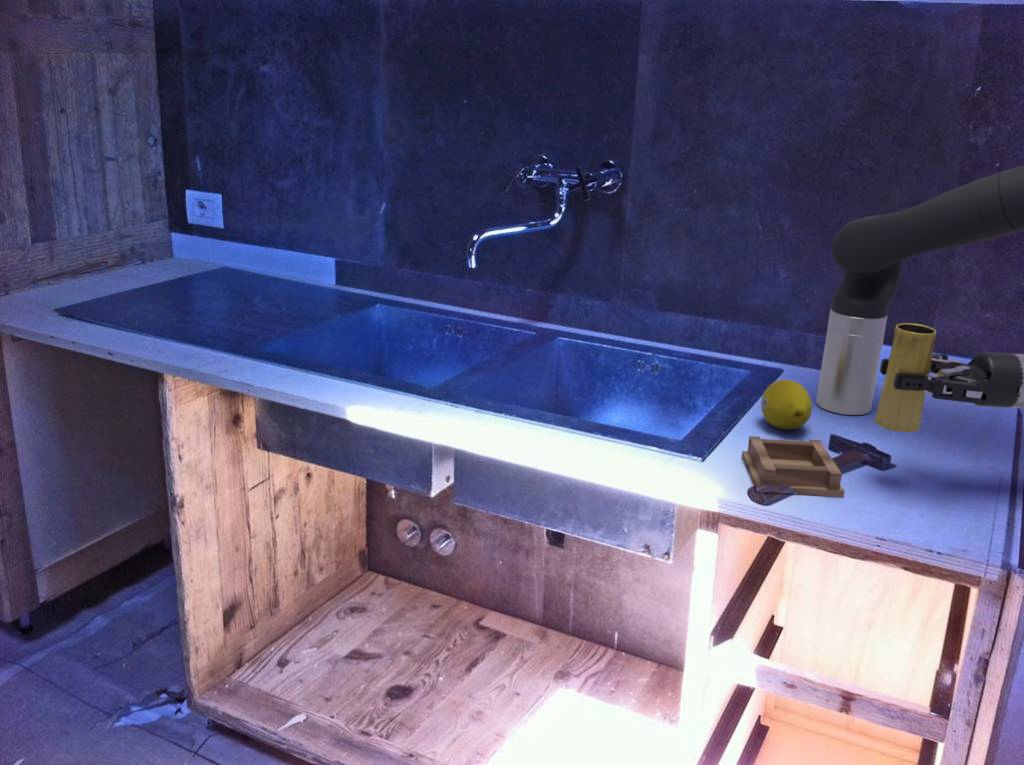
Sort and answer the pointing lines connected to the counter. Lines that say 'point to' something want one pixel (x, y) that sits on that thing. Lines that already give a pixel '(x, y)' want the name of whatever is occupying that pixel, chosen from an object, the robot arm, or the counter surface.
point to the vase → (906, 357)
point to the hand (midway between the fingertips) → (888, 373)
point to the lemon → (786, 405)
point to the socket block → (793, 466)
